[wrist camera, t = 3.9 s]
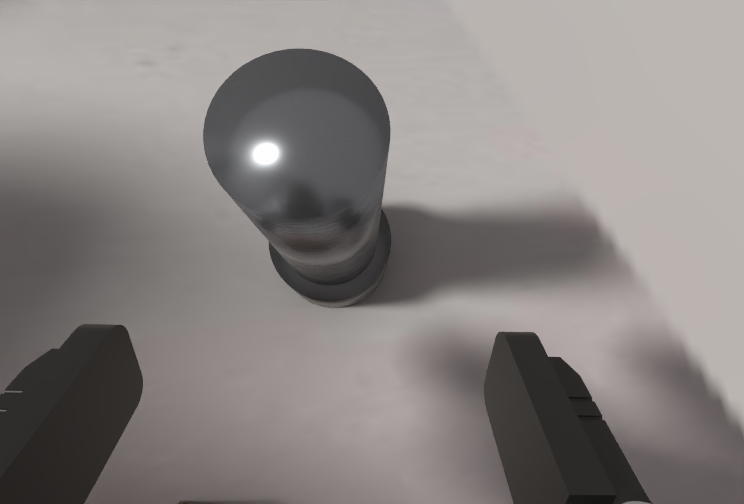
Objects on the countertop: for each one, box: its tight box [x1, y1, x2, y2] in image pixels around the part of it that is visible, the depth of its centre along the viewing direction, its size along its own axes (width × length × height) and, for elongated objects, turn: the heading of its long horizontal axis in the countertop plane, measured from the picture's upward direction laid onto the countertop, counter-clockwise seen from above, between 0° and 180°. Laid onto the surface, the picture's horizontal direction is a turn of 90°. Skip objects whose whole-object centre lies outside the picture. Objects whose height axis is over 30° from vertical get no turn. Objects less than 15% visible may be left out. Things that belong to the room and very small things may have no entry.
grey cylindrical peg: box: [203, 49, 391, 308], centre depth 13 cm, size 4×4×11 cm
